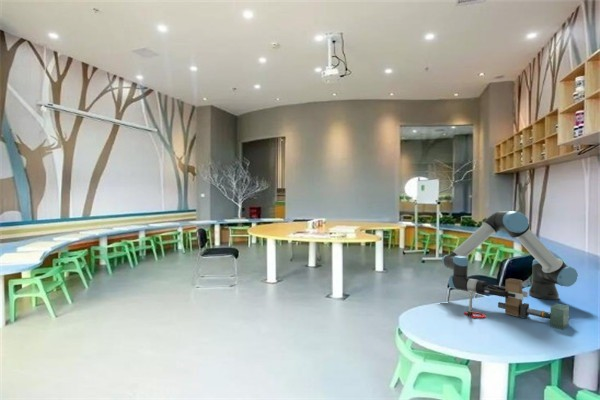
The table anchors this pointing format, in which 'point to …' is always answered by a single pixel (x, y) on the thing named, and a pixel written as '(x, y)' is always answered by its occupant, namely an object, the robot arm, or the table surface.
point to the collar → (524, 310)
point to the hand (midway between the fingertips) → (525, 295)
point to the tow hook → (470, 313)
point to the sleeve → (513, 303)
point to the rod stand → (549, 314)
